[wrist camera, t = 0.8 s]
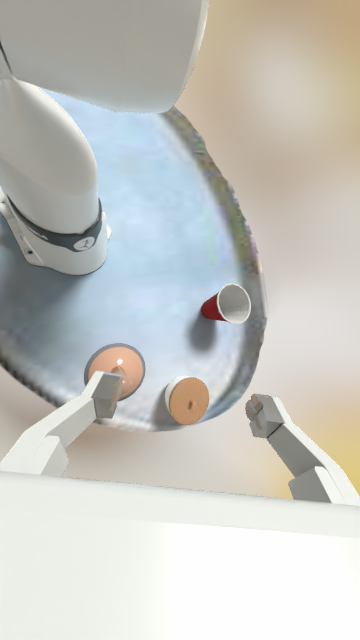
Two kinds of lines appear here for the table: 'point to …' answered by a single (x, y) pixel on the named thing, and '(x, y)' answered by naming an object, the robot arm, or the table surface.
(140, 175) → the table surface
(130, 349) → the coaster
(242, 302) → the plastic cup
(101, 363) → the lid
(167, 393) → the lidded jar
